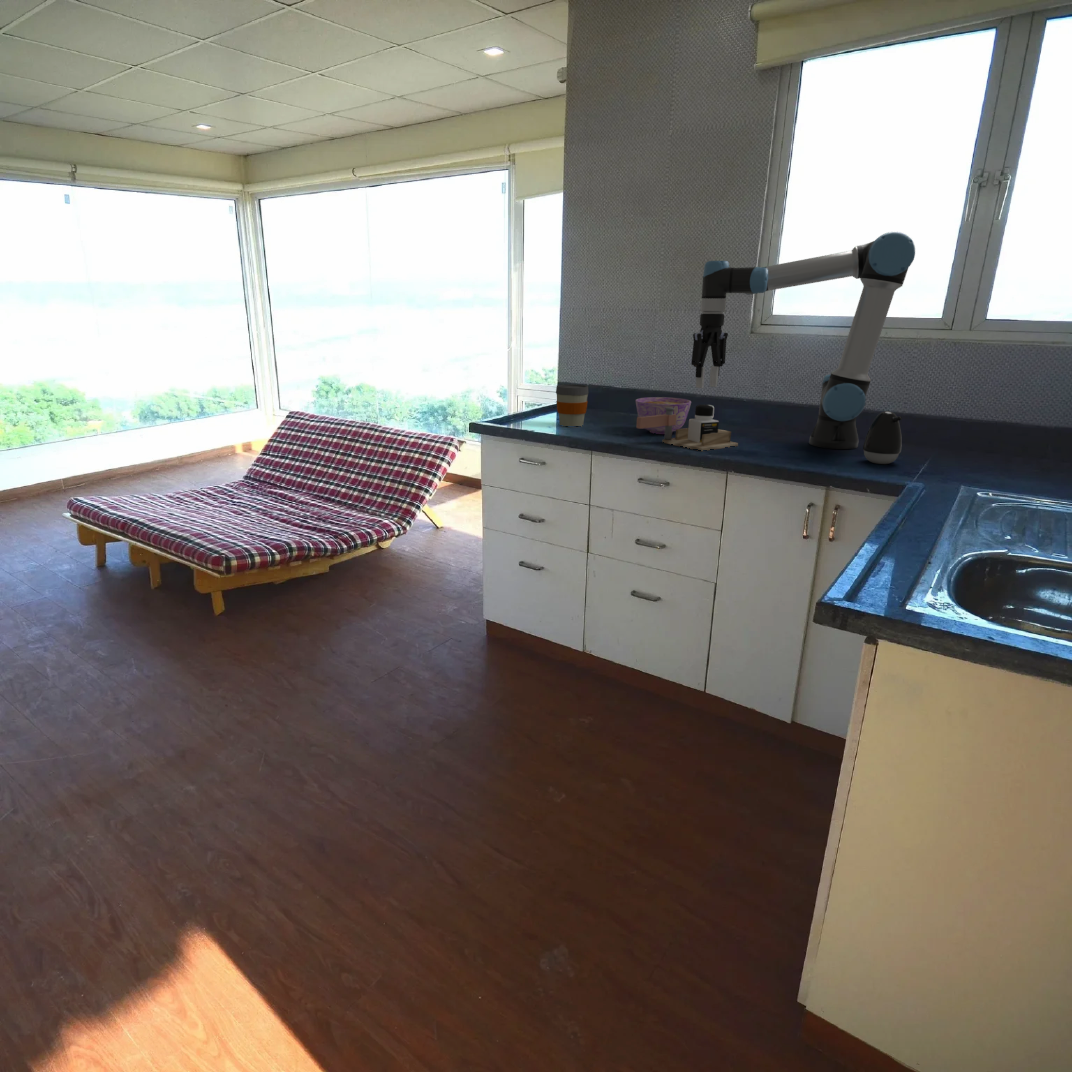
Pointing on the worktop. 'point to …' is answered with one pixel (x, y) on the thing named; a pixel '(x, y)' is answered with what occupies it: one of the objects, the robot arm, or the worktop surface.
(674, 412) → the bowl of food
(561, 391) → the reusable coffee cup
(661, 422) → the hammer
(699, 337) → the robot arm
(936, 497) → the worktop surface
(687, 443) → the cradle
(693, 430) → the medicine bottle
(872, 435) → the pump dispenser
